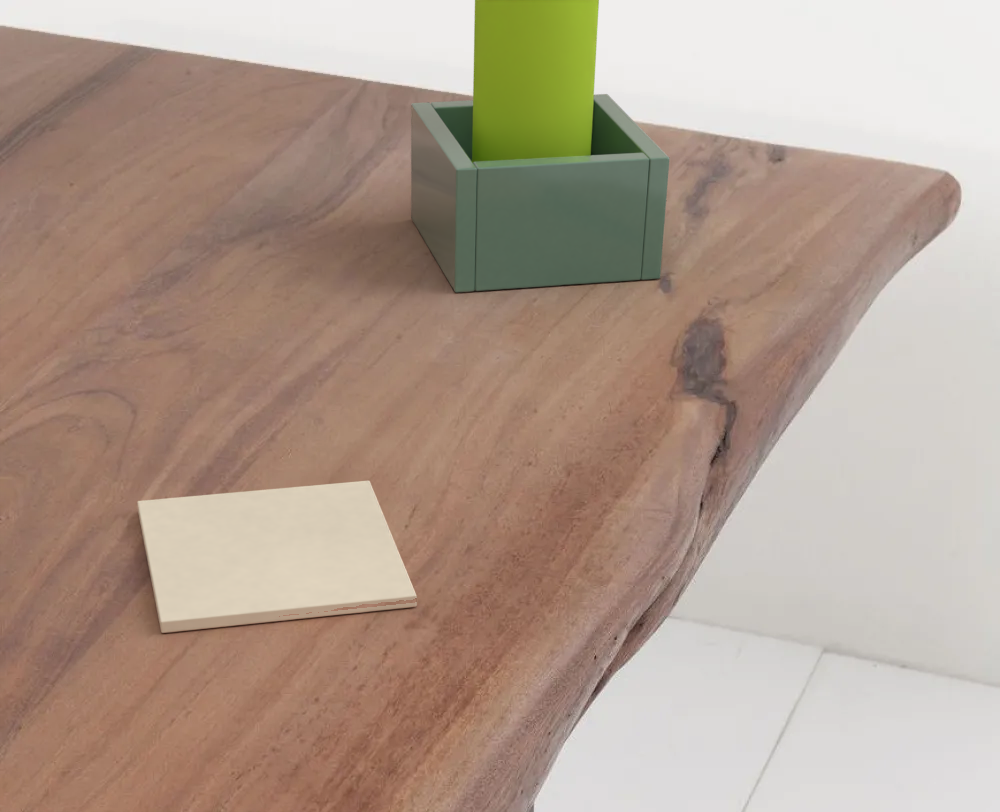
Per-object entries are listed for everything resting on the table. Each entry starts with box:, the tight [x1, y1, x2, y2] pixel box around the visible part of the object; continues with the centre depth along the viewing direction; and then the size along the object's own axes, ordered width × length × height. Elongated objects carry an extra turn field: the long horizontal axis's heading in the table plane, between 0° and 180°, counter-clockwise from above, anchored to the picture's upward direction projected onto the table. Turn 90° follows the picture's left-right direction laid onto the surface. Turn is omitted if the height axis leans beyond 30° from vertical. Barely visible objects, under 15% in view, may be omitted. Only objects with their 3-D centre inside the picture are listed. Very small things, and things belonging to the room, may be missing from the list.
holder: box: [410, 93, 670, 293], centre depth 94 cm, size 10×10×6 cm
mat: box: [136, 480, 418, 634], centre depth 69 cm, size 9×9×1 cm
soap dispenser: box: [472, 0, 600, 162], centre depth 90 cm, size 6×7×20 cm
